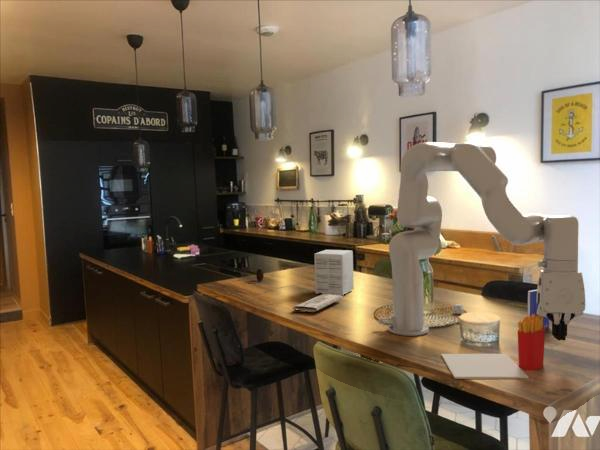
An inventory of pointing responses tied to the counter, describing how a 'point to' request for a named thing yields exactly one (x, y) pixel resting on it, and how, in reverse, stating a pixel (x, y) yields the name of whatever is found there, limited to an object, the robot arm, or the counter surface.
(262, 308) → the counter surface
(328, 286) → the supplement box
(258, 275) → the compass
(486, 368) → the mat
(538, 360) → the french fries
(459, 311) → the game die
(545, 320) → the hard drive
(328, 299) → the newspaper
